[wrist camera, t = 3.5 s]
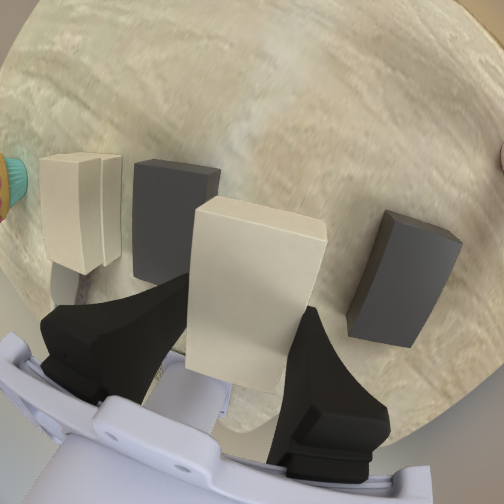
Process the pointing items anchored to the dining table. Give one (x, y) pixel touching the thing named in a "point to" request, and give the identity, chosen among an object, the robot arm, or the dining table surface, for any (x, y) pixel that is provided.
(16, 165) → the cupcake
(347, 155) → the dining table surface
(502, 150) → the smoothie
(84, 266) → the cream stack
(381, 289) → the grey book
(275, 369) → the cream book
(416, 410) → the dining table surface
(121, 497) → the robot arm
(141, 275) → the grey book
